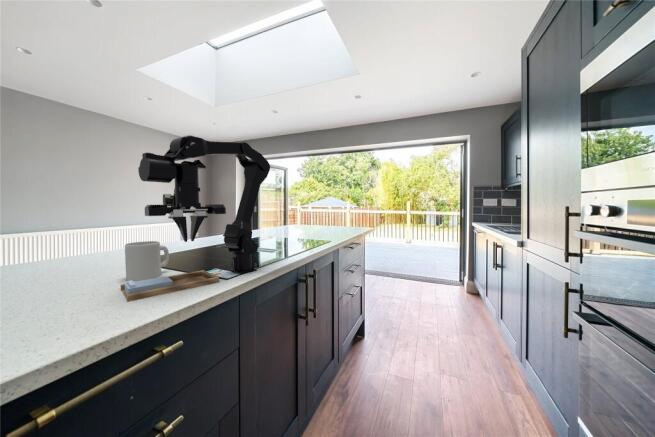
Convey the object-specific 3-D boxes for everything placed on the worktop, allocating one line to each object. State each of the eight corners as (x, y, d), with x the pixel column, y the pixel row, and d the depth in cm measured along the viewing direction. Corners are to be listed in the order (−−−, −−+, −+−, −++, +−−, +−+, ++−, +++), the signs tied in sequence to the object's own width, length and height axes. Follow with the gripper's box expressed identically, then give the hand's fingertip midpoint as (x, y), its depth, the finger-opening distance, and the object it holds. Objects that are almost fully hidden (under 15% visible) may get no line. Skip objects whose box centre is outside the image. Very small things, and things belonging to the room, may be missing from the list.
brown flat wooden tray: (203, 276, 79) (203, 270, 79) (219, 284, 71) (219, 277, 71) (120, 292, 65) (120, 284, 65) (127, 305, 57) (127, 296, 57)
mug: (139, 285, 71) (137, 245, 70) (119, 282, 74) (117, 244, 73) (178, 274, 82) (177, 240, 81) (159, 272, 85) (158, 239, 84)
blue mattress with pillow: (166, 283, 70) (166, 274, 70) (172, 288, 65) (172, 278, 65) (124, 291, 63) (124, 281, 63) (128, 297, 59) (127, 286, 59)
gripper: (211, 187, 82) (212, 236, 83) (139, 184, 69) (142, 242, 70) (225, 185, 74) (227, 239, 75) (147, 181, 61) (150, 246, 62)
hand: (189, 241), depth 70 cm, fingers closed
